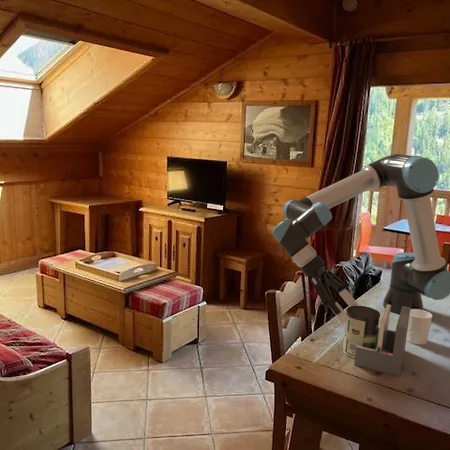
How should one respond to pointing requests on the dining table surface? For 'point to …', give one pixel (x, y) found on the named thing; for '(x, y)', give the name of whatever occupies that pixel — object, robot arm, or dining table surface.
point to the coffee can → (360, 329)
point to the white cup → (418, 326)
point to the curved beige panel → (383, 329)
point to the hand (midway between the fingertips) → (350, 313)
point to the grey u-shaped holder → (394, 340)
